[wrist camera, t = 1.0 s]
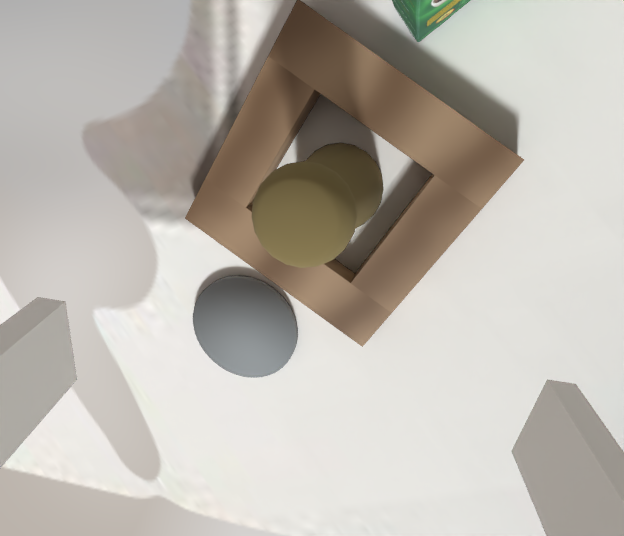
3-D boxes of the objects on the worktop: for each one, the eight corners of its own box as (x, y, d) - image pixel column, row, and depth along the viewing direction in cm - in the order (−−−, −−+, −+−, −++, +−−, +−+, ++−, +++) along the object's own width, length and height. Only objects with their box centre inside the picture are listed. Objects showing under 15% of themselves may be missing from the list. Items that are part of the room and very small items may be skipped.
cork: (286, 158, 29) (214, 178, 19) (369, 130, 28) (336, 136, 17) (313, 239, 31) (258, 296, 21) (393, 217, 29) (375, 269, 19)
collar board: (517, 157, 26) (524, 159, 24) (365, 333, 32) (362, 346, 31) (306, 7, 26) (297, -2, 24) (198, 212, 33) (184, 218, 31)
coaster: (318, 320, 33) (316, 324, 32) (263, 392, 37) (260, 396, 36) (226, 253, 33) (222, 255, 33) (180, 331, 37) (176, 334, 36)
